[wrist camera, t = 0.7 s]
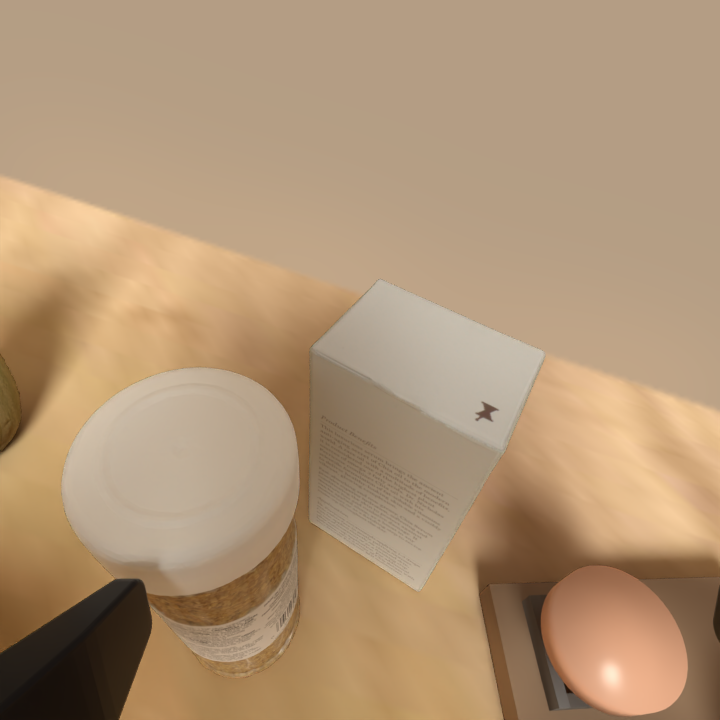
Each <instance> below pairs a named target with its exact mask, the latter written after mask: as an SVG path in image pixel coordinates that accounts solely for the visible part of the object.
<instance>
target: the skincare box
mask: <svg viewBox="0 0 720 720" xmlns="http://www.w3.org/2000/svg"><path fill="white" fill-rule="evenodd" d="M309 356H310V433H309V511H308V515H309V521H310V522H311V523H312V524H314V525H316V526H317V527H319V528H320V529H322V530H323V531H325V532H327V533H328V534H330V535H331V536H333V537H334V538H336V539H337V540H339V541H340V542H342V543H343V544H345V545H346V546H348V547H350V548H351V549H353V550H354V551H356V552H357V553H359V554H360V555H362V556H363V557H365V558H366V559H368V560H370V561H371V562H373V563H374V564H376V565H377V566H379V567H380V568H382V569H383V570H385V571H387V572H388V573H390V574H391V575H393V576H394V577H396V578H397V579H399V580H400V581H402V582H403V583H405V584H406V585H408V586H409V587H411V588H412V589H414V590H415V591H418V592H419V591H420V590H421V589H422V588H423V586H424V585H425V583H426V581H427V580H428V578H429V576H430V575H431V573H432V571H433V570H434V568H435V566H436V564H437V563H438V561H439V559H440V558H441V556H442V555H443V553H444V551H445V550H446V548H447V546H448V545H449V543H450V541H451V540H452V538H453V536H454V535H455V533H456V531H457V530H458V528H459V526H460V525H461V523H462V521H463V519H464V518H465V516H466V514H467V513H468V511H469V509H470V508H471V506H472V504H473V503H474V501H475V499H476V498H477V496H478V494H479V492H480V491H481V489H482V487H483V485H484V483H485V481H486V480H487V478H488V477H489V475H490V473H491V472H492V470H493V469H494V468H495V466H496V464H497V463H498V461H499V460H500V458H501V457H502V455H503V454H504V453H505V451H506V448H507V446H508V443H509V441H510V438H511V436H512V433H513V431H514V429H515V426H516V424H517V422H518V420H519V417H520V415H521V413H522V410H523V408H524V406H525V403H526V401H527V399H528V396H529V394H530V392H531V389H532V387H533V385H534V382H535V380H536V378H537V375H538V373H539V371H540V368H541V366H542V364H543V361H544V359H545V352H544V351H543V350H540V349H538V348H536V347H534V346H531V345H529V344H526V343H524V342H522V341H519V340H517V339H515V338H512V337H510V336H508V335H505V334H503V333H501V332H498V331H496V330H494V329H492V328H489V327H487V326H485V325H483V324H480V323H478V322H476V321H474V320H471V319H469V318H467V317H465V316H463V315H460V314H458V313H456V312H453V311H452V310H449V309H447V308H444V307H443V306H440V305H438V304H436V303H433V302H431V301H429V300H427V299H424V298H422V297H419V296H417V295H415V294H413V293H411V292H409V291H406V290H404V289H402V288H400V287H397V286H395V285H392V284H390V283H388V282H386V281H385V280H382V279H378V280H377V281H376V283H375V284H374V285H373V286H372V287H371V288H370V289H369V290H368V291H367V292H366V293H365V294H364V295H363V296H362V297H361V298H360V299H359V300H358V301H357V302H356V303H355V304H354V305H353V306H352V307H351V308H350V309H349V310H348V311H347V312H346V313H345V314H344V315H343V316H342V317H341V318H340V319H339V320H338V321H337V322H336V323H335V324H334V325H333V326H332V327H331V328H330V329H329V330H328V331H327V332H326V333H325V334H324V335H323V336H322V337H321V338H320V339H319V340H318V341H316V342H315V343H314V344H313V345H312V347H311V348H310V351H309Z"/></svg>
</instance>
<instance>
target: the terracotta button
mask: <svg viewBox="0 0 720 720" xmlns="http://www.w3.org/2000/svg"><path fill="white" fill-rule="evenodd" d="M541 633H542V638H543V643H544V646H545V649H546V652H547V655H548V657H549V659H550V661H551V663H552V665H553V667H554V669H555V671H556V672H557V674H558V675H559V676H560V678H561V679H562V681H563V682H564V683H565V684H566V685H567V687H568V688H569V689H570V690H571V691H572V692H573V693H574V694H575V695H576V696H577V697H579V698H580V699H581V700H582V701H584V702H585V703H586V704H588V705H590V706H591V707H593V708H595V709H597V710H599V711H601V712H603V713H606V714H609V715H613V716H618V717H632V716H638V715H644V714H649V713H655V712H659V711H661V710H664V709H666V708H668V707H669V706H671V705H672V704H673V703H674V702H675V701H676V700H677V699H678V697H679V696H680V695H681V693H682V691H683V689H684V686H685V683H686V679H687V671H688V660H687V653H686V648H685V644H684V640H683V637H682V635H681V632H680V630H679V628H678V626H677V624H676V621H675V620H674V618H673V616H672V615H671V613H670V611H669V610H668V609H667V607H666V606H665V605H664V603H663V602H662V601H661V600H660V599H659V597H658V596H657V595H656V594H655V593H654V592H653V591H652V590H651V589H650V588H648V587H647V586H646V585H645V584H644V583H642V582H641V581H639V580H638V579H637V578H635V577H633V576H632V575H630V574H628V573H626V572H624V571H621V570H619V569H616V568H613V567H609V566H603V565H591V566H585V567H581V568H579V569H577V570H575V571H573V572H572V573H570V574H569V575H568V576H566V577H565V578H564V579H562V580H561V581H560V582H558V583H557V584H556V585H555V586H554V587H553V588H552V589H551V590H550V592H549V593H548V594H547V596H546V599H545V601H544V604H543V607H542V612H541Z"/></svg>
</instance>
